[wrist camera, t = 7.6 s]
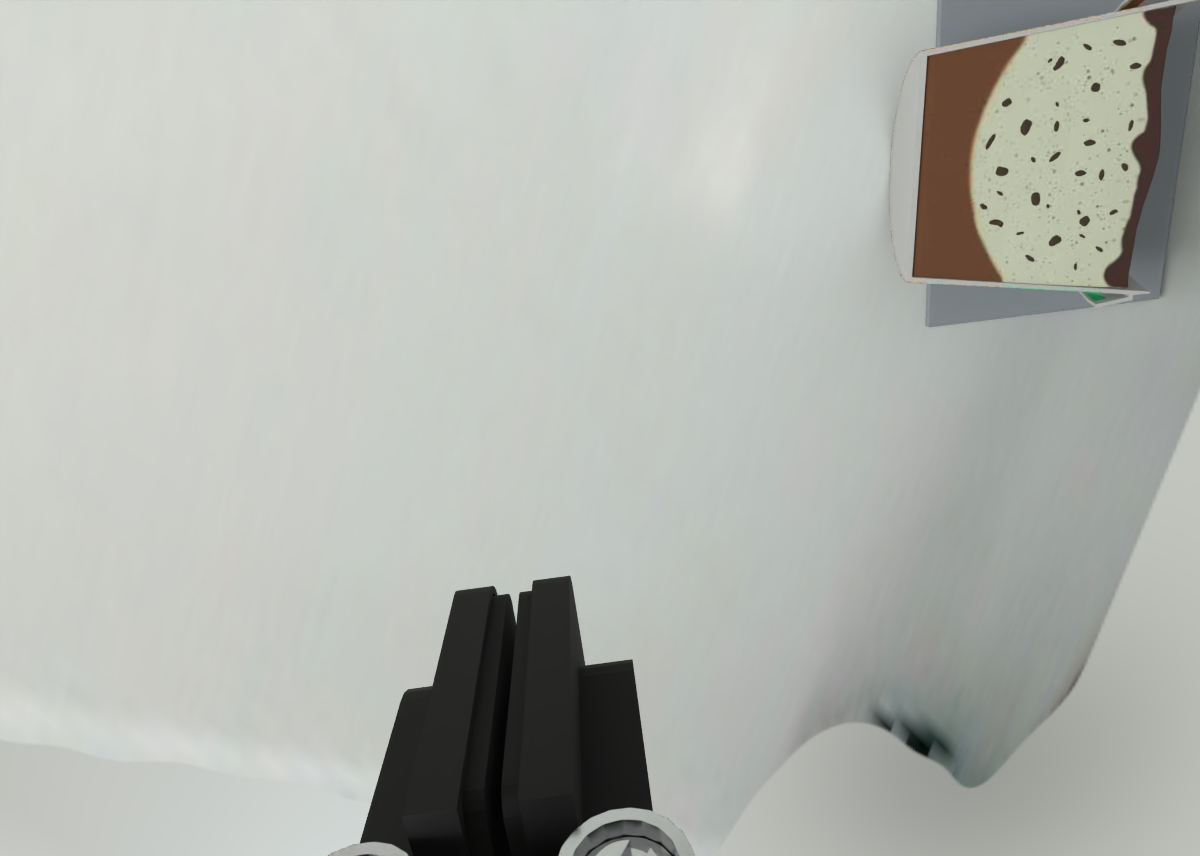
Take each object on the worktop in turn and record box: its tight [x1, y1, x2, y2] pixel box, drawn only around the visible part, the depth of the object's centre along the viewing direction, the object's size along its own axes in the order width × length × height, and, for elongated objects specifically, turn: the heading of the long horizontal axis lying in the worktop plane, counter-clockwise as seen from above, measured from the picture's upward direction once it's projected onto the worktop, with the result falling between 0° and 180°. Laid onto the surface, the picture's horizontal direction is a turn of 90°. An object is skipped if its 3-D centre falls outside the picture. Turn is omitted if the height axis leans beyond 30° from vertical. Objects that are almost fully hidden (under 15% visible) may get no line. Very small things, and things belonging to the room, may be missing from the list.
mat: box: [926, 0, 1200, 327], centre depth 37 cm, size 16×12×1 cm
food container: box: [890, 0, 1199, 308], centre depth 34 cm, size 12×6×10 cm
